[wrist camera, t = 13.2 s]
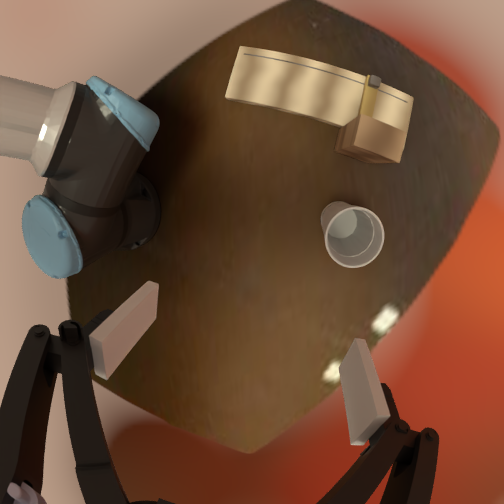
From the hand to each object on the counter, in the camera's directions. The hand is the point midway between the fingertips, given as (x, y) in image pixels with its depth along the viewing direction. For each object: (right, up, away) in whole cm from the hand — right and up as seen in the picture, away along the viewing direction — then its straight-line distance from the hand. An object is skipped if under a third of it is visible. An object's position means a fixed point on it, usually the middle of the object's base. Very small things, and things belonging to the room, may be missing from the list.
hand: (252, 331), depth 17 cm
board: (+12, +31, +21) cm, 39 cm away
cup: (+14, +10, +27) cm, 33 cm away
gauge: (+18, +27, +22) cm, 39 cm away
